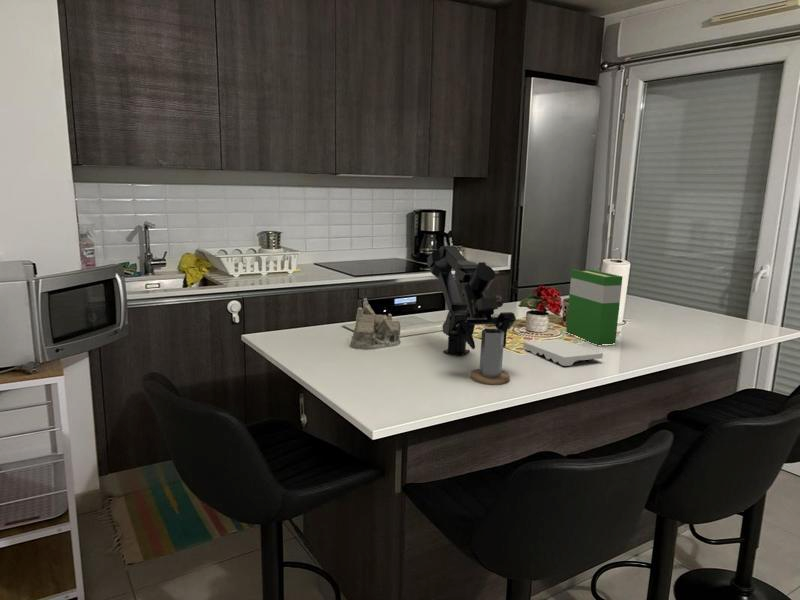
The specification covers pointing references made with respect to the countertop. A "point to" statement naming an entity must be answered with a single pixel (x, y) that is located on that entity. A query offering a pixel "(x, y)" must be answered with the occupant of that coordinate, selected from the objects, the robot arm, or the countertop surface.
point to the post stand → (491, 381)
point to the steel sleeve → (491, 353)
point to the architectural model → (491, 326)
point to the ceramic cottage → (374, 330)
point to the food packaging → (561, 351)
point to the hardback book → (594, 306)
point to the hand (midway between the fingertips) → (489, 347)
